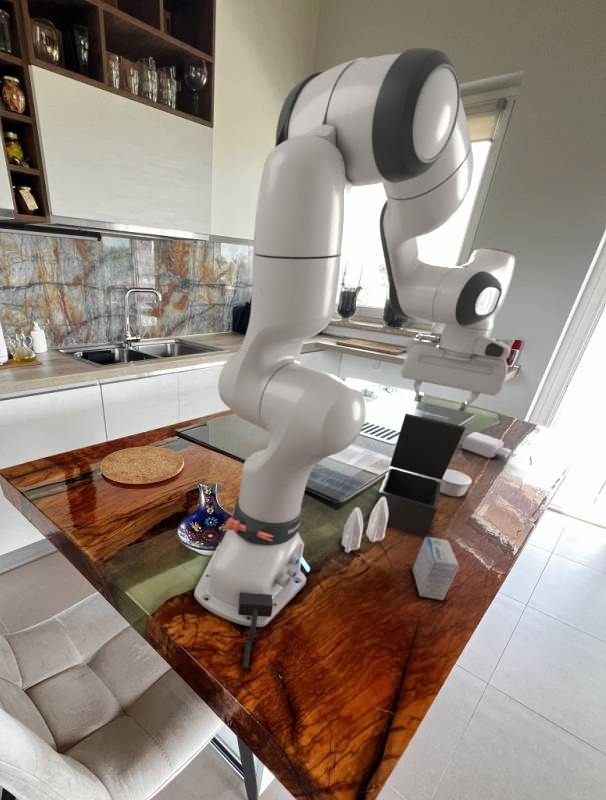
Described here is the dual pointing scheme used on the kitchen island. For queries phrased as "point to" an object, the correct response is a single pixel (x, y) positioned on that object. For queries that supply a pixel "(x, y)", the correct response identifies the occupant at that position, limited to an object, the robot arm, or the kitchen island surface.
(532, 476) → the kitchen island surface
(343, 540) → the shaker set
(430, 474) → the black box lid
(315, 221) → the robot arm
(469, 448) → the white bottle
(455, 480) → the ramekin
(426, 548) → the medicine box
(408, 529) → the black open box
